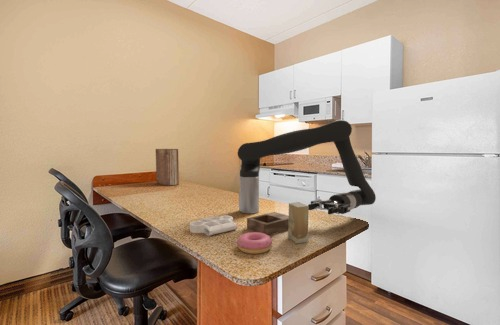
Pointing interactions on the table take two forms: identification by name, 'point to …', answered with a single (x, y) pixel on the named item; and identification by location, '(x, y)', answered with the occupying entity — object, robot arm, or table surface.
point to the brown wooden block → (167, 166)
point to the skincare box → (298, 222)
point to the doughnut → (254, 243)
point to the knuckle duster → (213, 225)
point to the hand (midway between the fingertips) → (318, 209)
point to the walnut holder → (268, 223)
